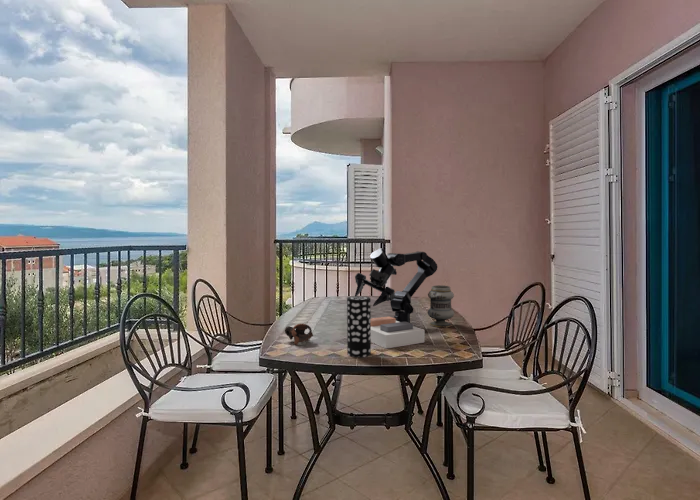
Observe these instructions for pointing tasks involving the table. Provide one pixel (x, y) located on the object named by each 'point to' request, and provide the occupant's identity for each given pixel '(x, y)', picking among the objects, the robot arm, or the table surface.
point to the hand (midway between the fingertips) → (364, 301)
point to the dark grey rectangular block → (396, 326)
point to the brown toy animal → (298, 333)
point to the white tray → (396, 337)
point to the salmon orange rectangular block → (382, 321)
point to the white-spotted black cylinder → (358, 326)
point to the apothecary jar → (440, 305)
